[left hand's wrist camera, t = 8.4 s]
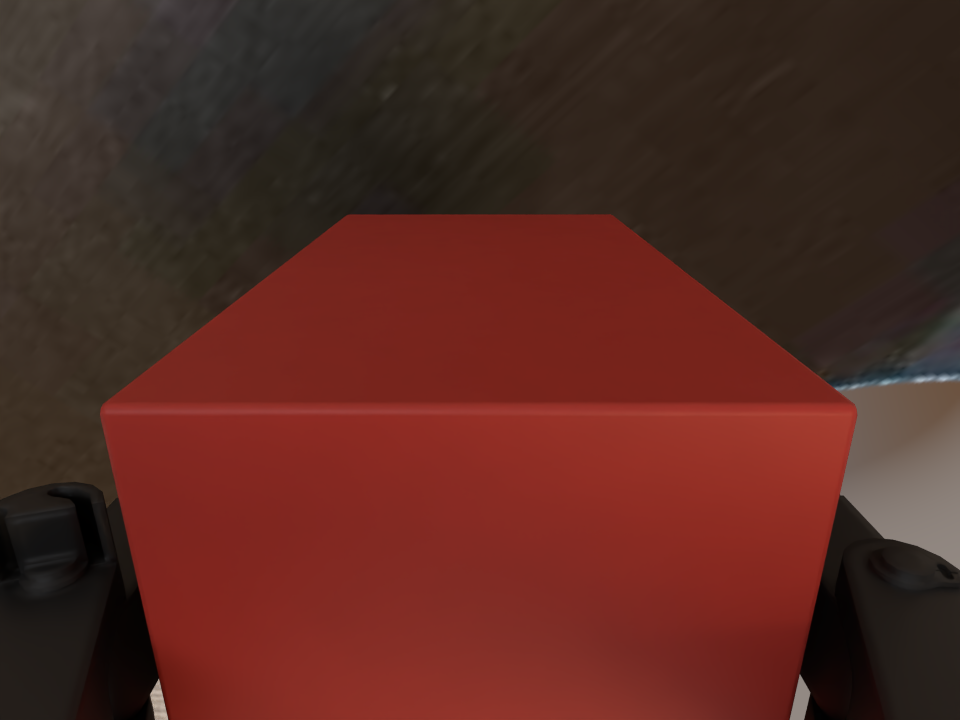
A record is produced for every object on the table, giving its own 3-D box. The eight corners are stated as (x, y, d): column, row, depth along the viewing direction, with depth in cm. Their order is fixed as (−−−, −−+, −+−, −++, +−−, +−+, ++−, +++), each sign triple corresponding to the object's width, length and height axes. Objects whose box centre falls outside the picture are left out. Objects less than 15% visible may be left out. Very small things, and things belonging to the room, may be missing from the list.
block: (613, 213, 16) (865, 406, 6) (596, 463, 18) (748, 923, 8) (345, 214, 16) (92, 406, 6) (363, 463, 18) (210, 923, 8)
